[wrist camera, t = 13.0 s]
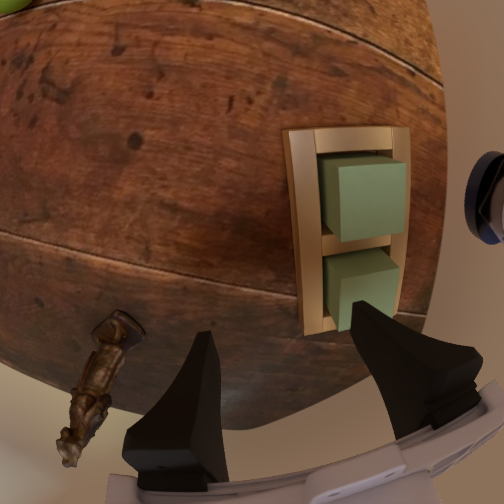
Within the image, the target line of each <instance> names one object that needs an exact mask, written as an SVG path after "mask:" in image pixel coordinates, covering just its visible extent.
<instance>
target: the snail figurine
mask: <svg viewBox="0 0 504 504" xmlns="http://www.w3.org/2000/svg"><path fill="white" fill-rule="evenodd" d="M32 1H33V0H0V13H1V14H9V13H13V12H16V11H18V10H20V9H22V8H24V7H25V6H27V5H28V4H29V3H31V2H32Z"/></svg>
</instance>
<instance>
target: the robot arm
mask: <svg viewBox="0 0 504 504" xmlns="http://www.w3.org/2000/svg"><path fill="white" fill-rule="evenodd" d="M479 213H480V215H481V216H482V217H483V219H484V220H485V221H486V222H487V224H488V225H489V226H490V228H491V229H492V230H493V232H494V233H495V235H496V236H497V237H498V239H499V240H500V242H501V243H502V244H503V245H504V160H502V161H501V163H500V165H499V168H498V170H497V172H496V175H495V177H494V179H493V181H492V183H491V185H490V188H489V190H488V192H487V194H486V196H485V198H484V200H483V202H482V204H481V206H480V207H479ZM350 334H351V336H352V339H353V341H354V344H355V346H356V348H357V350H358V352H359V353H360V355H361V357H362V359H363V360H364V362H365V364H366V365H367V367H368V369H369V371H370V372H371V374H372V376H373V378H374V379H375V381H376V383H377V385H378V388H379V390H380V392H381V395H382V398H383V400H384V403H385V406H386V408H387V411H388V414H389V417H390V421H391V424H392V427H393V430H394V435H395V438H396V441H394V442H391V443H389V444H386V445H384V446H381V447H379V448H376V449H373V450H371V451H368V452H365V453H362V454H360V455H356V456H353V457H350V458H347V459H344V460H341V461H337V462H334V463H330V464H327V465H323V466H320V467H316V468H312V469H307V470H303V471H299V472H294V473H289V474H284V475H278V476H272V477H267V478H259V479H252V480H244V481H234V482H229V477H228V471H227V466H226V459H225V452H224V445H223V438H222V428H221V416H220V404H221V372H220V362H219V357H218V354H217V350H216V347H215V344H214V341H213V337H212V334H211V331H204V332H198V333H197V335H196V337H195V340H194V343H193V345H192V347H191V350H190V352H189V354H188V356H187V358H186V360H185V362H184V364H183V366H182V368H181V369H180V371H179V373H178V375H177V376H176V378H175V380H174V381H173V383H172V384H171V386H170V387H169V388H168V390H167V391H166V392H165V394H164V395H163V396H162V397H161V399H160V400H159V401H158V402H157V403H156V405H155V406H154V407H153V408H152V409H151V410H150V411H149V412H148V413H147V414H146V415H145V416H144V417H143V418H141V419H140V420H139V421H138V422H136V423H135V424H134V425H133V426H132V427H130V428H129V429H127V432H126V435H125V439H124V444H123V450H122V457H123V459H124V460H125V461H126V462H127V463H128V464H129V465H130V466H132V467H133V468H134V469H135V470H136V471H138V478H136V477H133V476H128V475H119V474H109V478H108V485H107V493H106V501H105V504H443V503H442V501H441V498H440V496H439V494H438V492H437V489H436V487H435V485H434V483H433V481H432V479H434V478H435V477H437V476H439V475H440V474H442V473H444V472H445V471H447V470H448V469H450V468H451V467H453V466H454V465H456V464H457V463H459V462H460V461H461V460H463V459H464V458H466V457H467V456H468V455H470V454H471V453H473V452H474V451H476V450H477V449H478V448H479V447H481V446H482V445H484V444H485V443H486V442H487V441H489V440H490V439H491V438H492V437H494V436H495V435H496V434H497V433H498V432H499V431H500V430H501V429H502V428H503V427H504V390H503V389H502V387H501V386H500V385H499V383H498V382H497V381H496V380H493V381H492V382H490V383H489V384H487V385H486V386H484V387H483V388H482V389H481V390H479V392H477V391H476V389H475V388H476V387H477V385H476V383H475V382H474V380H475V378H476V376H477V374H478V373H479V371H480V369H481V367H482V364H483V357H482V356H481V355H480V354H479V353H478V352H477V351H476V349H475V348H474V347H469V346H461V345H456V344H452V343H447V342H443V341H440V340H437V339H434V338H431V337H428V336H426V335H423V334H421V333H419V332H416V331H414V330H412V329H410V328H408V327H406V326H404V325H403V324H401V323H399V322H397V321H396V320H394V319H392V318H391V317H389V316H387V315H386V314H384V313H383V312H381V311H380V310H378V309H377V308H375V307H374V306H372V305H370V304H369V303H367V302H366V301H364V300H361V301H357V302H353V303H352V315H351V326H350Z"/></svg>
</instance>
